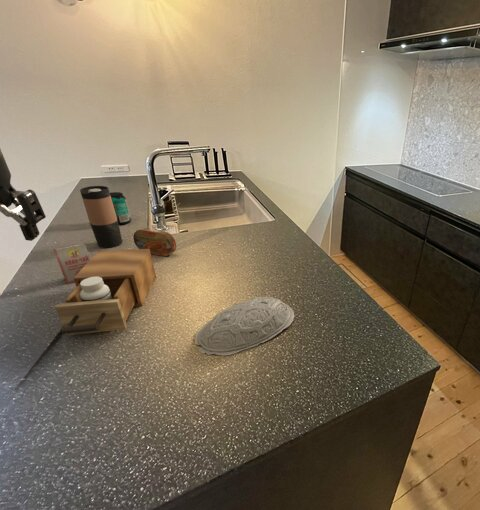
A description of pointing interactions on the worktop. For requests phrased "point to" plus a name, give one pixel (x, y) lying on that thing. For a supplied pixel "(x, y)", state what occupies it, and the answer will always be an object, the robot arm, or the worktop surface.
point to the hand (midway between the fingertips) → (7, 234)
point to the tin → (155, 241)
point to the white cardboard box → (72, 260)
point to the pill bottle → (94, 290)
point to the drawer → (98, 309)
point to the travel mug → (102, 216)
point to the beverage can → (120, 208)
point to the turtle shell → (244, 326)
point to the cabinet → (122, 269)
